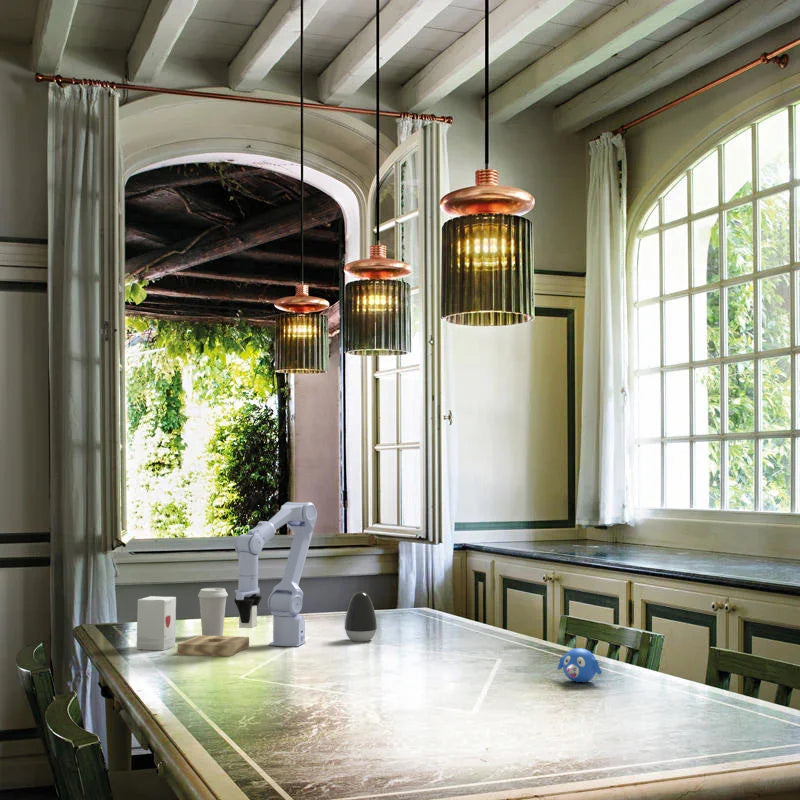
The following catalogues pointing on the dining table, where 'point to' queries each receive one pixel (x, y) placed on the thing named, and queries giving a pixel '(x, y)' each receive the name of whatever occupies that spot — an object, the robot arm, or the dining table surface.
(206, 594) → the coffee cup
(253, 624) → the plug
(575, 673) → the blue mole toy
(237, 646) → the socket plate
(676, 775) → the dining table surface
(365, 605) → the two-tone egg ornament
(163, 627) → the supplement box
